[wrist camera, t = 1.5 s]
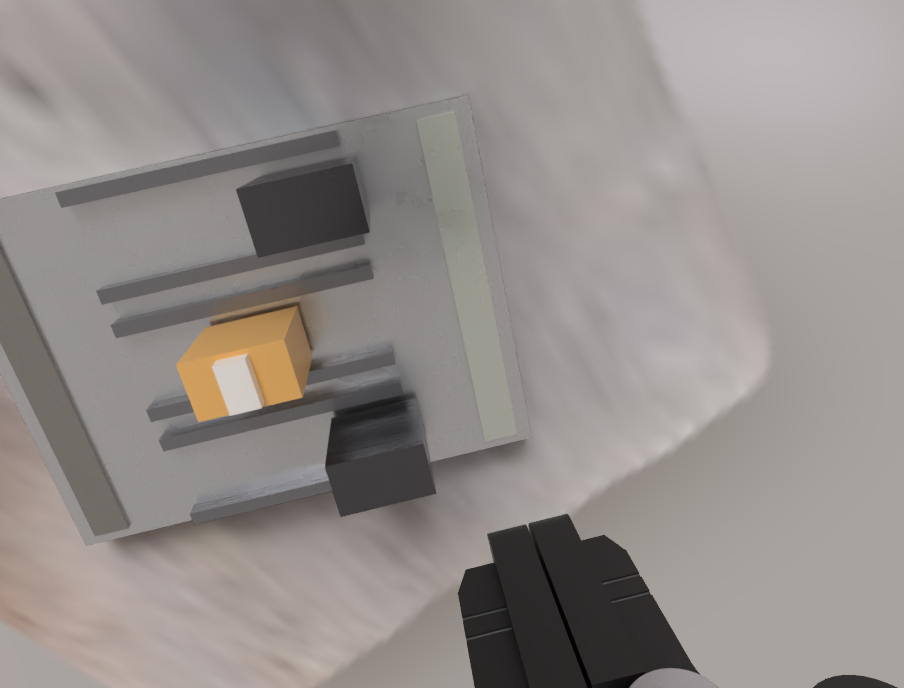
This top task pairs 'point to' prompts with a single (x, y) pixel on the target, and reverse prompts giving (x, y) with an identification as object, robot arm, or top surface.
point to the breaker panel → (254, 293)
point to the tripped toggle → (246, 364)
